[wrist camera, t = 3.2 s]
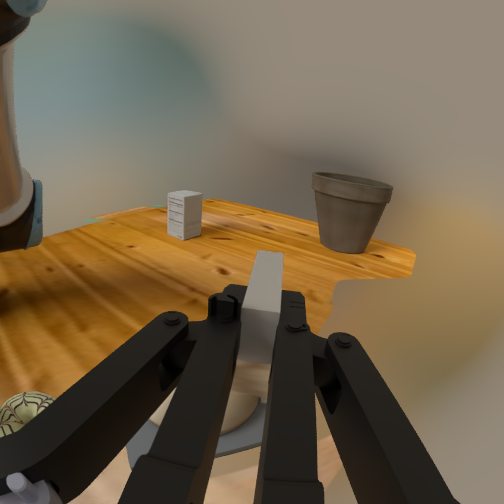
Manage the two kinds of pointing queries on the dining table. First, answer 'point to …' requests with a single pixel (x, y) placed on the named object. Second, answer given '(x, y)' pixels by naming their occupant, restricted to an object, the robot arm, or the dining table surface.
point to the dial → (235, 395)
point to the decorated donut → (22, 410)
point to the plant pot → (348, 209)
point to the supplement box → (184, 214)
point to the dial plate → (228, 442)
